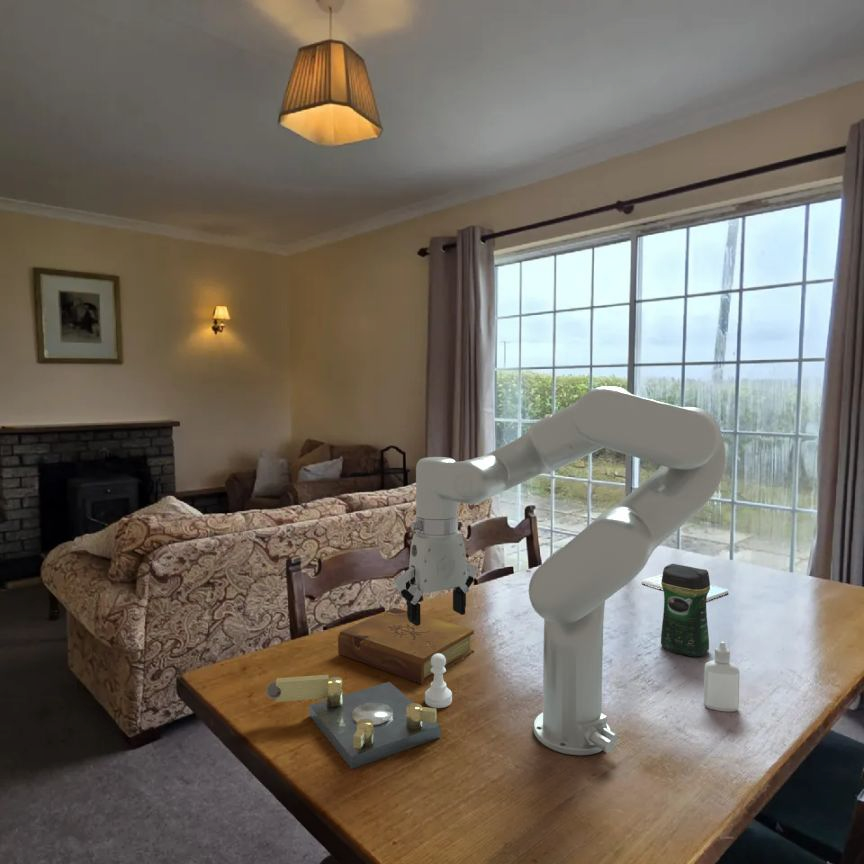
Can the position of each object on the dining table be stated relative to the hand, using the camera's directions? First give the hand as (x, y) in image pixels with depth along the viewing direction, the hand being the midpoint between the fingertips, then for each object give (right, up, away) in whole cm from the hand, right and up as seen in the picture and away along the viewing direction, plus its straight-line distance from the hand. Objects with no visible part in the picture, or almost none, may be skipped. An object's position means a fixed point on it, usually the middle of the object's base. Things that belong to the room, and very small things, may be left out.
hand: (437, 617), depth 111 cm
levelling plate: (-11, -16, -7) cm, 21 cm away
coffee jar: (+55, -14, +23) cm, 61 cm away
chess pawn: (0, -16, +1) cm, 16 cm away
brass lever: (-23, -14, -4) cm, 28 cm away
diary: (-7, -15, +22) cm, 27 cm away
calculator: (+72, -12, +64) cm, 97 cm away
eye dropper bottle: (+51, -16, -1) cm, 54 cm away
